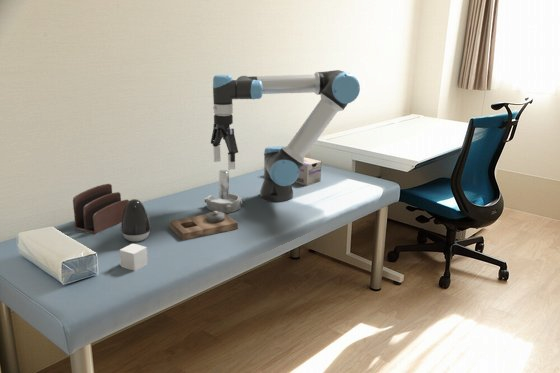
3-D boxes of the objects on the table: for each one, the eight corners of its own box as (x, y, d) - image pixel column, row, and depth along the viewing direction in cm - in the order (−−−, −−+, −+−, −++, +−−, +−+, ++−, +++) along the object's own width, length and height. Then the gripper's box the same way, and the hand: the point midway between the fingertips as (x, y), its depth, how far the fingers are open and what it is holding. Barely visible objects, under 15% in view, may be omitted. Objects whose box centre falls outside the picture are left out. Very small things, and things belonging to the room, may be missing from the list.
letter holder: (75, 230, 196) (71, 194, 192) (112, 213, 213) (109, 180, 209) (95, 235, 192) (91, 198, 188) (131, 217, 209) (129, 184, 205)
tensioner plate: (221, 218, 210) (221, 203, 208) (237, 229, 199) (237, 214, 197) (169, 228, 199) (168, 213, 197) (183, 241, 188) (182, 225, 186)
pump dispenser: (122, 246, 183) (118, 205, 178) (121, 235, 192) (118, 196, 187) (151, 243, 185) (149, 203, 181) (150, 232, 195) (148, 194, 190)
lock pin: (225, 195, 223) (226, 169, 219) (230, 198, 219) (230, 172, 216) (217, 196, 221) (217, 170, 217) (221, 199, 217) (221, 173, 214)
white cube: (133, 259, 173) (132, 243, 171) (147, 264, 170) (146, 247, 169) (120, 266, 168) (119, 249, 166) (134, 271, 165) (133, 253, 163)
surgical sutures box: (320, 181, 261) (321, 161, 258) (306, 186, 254) (307, 165, 251) (283, 171, 278) (284, 152, 274) (269, 175, 270) (270, 155, 267)
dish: (200, 208, 222) (200, 197, 220) (225, 201, 231) (225, 190, 230) (222, 217, 212) (222, 205, 210) (247, 209, 221) (247, 198, 220)
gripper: (201, 110, 217) (203, 159, 224) (228, 120, 197) (229, 173, 204) (218, 108, 221) (219, 157, 228) (246, 118, 201) (246, 171, 208)
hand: (224, 165), depth 216 cm, fingers open, 13 cm apart
